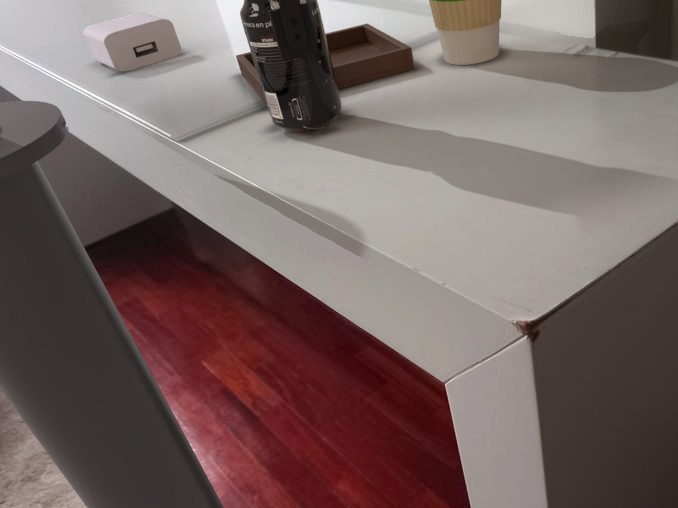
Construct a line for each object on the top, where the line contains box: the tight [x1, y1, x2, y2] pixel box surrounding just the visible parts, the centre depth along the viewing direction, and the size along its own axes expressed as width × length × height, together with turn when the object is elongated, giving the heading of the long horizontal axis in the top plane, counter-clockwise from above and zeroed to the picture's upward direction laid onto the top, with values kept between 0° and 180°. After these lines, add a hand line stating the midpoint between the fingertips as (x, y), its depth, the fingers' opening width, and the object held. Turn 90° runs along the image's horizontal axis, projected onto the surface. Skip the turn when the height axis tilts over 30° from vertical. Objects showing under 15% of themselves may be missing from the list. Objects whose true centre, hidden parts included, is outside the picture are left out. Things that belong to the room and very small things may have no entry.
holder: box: [235, 23, 416, 106], centre depth 78 cm, size 17×15×2 cm
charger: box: [82, 12, 182, 72], centre depth 95 cm, size 5×9×15 cm
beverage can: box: [239, 0, 343, 134], centre depth 63 cm, size 7×7×12 cm
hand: (289, 45), depth 62 cm, fingers closed on beverage can, 6 cm apart
